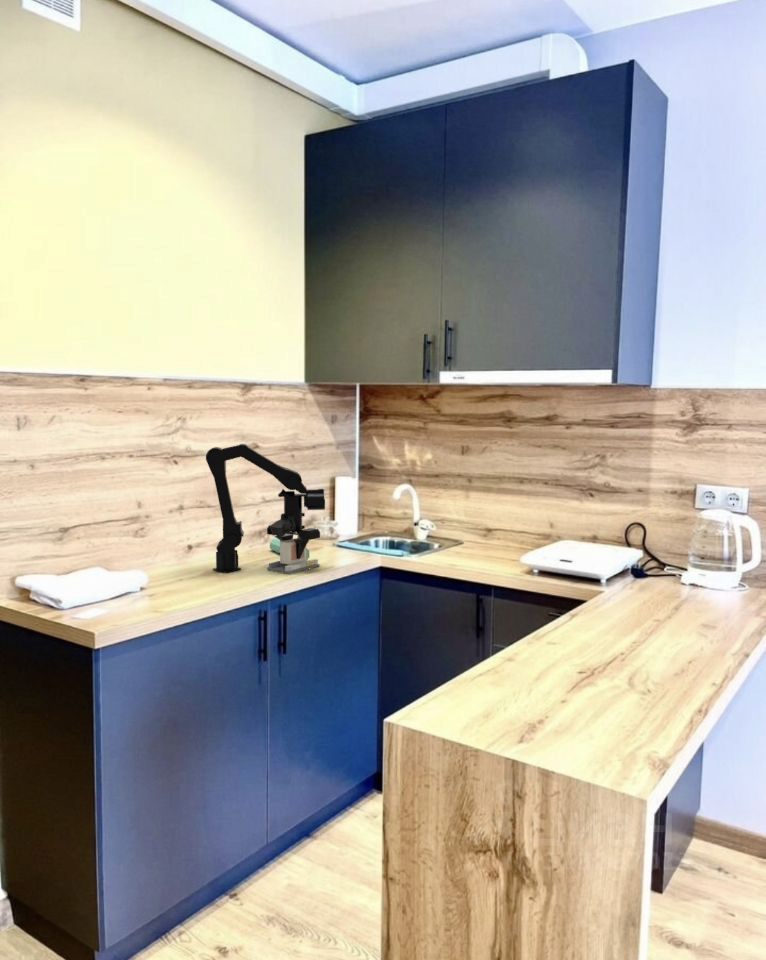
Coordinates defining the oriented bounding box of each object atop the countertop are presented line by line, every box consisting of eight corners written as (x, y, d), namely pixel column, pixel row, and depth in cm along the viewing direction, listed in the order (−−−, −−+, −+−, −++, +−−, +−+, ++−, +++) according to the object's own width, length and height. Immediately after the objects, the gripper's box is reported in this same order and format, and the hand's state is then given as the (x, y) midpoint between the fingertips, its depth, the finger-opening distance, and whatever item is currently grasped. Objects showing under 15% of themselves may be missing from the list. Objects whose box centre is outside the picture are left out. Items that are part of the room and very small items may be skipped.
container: (269, 534, 274) (297, 544, 252) (283, 538, 277) (312, 549, 255) (264, 549, 273) (291, 560, 252) (278, 554, 276) (306, 565, 255)
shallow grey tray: (289, 574, 236) (289, 566, 235) (267, 569, 242) (267, 562, 241) (319, 566, 247) (319, 559, 246) (297, 562, 253) (297, 555, 252)
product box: (280, 563, 242) (279, 541, 241) (297, 558, 248) (297, 538, 248) (289, 564, 239) (289, 542, 239) (306, 560, 246) (306, 539, 245)
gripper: (254, 510, 241) (255, 558, 243) (296, 515, 230) (297, 566, 232) (279, 506, 250) (279, 553, 252) (321, 511, 239) (321, 560, 241)
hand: (293, 558), depth 244 cm, fingers closed on product box, 4 cm apart
